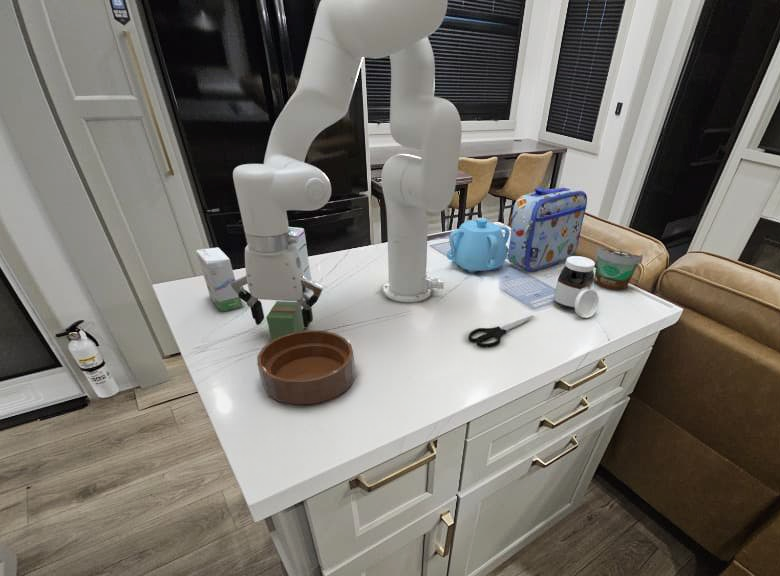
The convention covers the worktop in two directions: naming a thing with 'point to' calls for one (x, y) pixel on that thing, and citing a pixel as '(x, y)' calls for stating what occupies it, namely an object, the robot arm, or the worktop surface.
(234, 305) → the ink box
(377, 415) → the worktop surface
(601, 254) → the food container
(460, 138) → the robot arm
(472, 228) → the decorative pot
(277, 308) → the package
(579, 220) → the lunch box
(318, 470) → the worktop surface
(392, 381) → the worktop surface
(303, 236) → the syrup box
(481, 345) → the scissors
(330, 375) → the bowl
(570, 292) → the spread jar
